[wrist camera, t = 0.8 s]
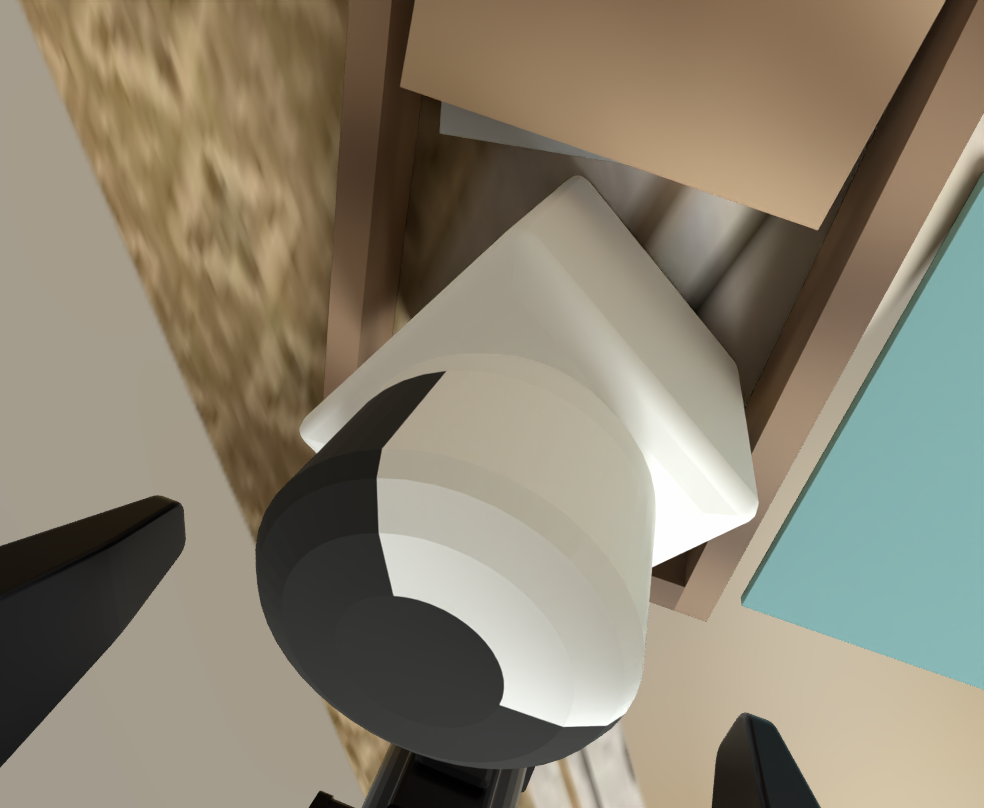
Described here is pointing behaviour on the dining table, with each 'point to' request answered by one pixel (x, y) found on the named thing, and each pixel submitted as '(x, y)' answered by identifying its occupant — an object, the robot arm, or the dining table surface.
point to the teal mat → (901, 488)
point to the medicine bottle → (508, 497)
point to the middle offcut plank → (502, 132)
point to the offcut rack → (814, 317)
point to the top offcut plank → (682, 83)
